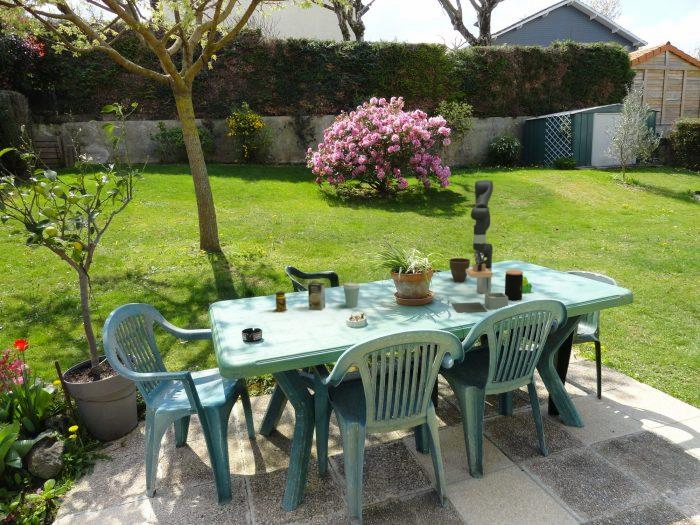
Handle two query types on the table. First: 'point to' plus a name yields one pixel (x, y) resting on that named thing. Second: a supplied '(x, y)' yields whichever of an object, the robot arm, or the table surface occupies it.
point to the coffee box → (316, 295)
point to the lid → (476, 273)
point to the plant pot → (459, 268)
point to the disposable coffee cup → (351, 294)
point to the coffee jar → (513, 284)
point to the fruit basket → (526, 286)
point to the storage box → (496, 300)
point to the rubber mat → (468, 307)
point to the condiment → (280, 302)
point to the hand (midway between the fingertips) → (478, 270)
